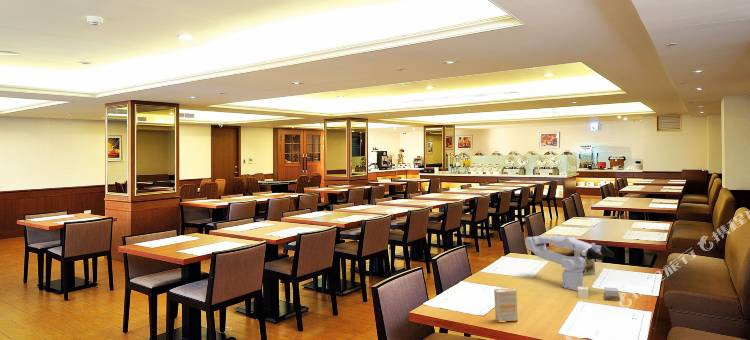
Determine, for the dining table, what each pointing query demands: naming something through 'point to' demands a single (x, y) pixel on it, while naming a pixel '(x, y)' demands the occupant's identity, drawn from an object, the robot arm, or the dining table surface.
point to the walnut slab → (611, 298)
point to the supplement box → (505, 304)
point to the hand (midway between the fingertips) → (608, 256)
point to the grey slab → (611, 292)
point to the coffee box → (589, 264)
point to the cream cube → (583, 292)
